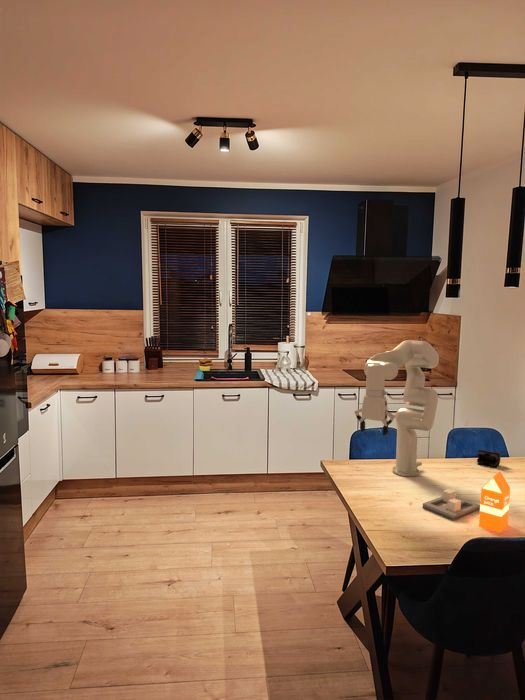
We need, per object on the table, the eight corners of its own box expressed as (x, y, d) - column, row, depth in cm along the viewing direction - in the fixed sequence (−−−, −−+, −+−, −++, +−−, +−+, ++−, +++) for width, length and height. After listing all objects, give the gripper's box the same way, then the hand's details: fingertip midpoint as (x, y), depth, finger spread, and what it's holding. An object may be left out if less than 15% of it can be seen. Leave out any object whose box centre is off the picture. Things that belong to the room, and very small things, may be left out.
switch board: (449, 498, 215) (449, 493, 215) (480, 509, 204) (480, 504, 204) (422, 508, 205) (422, 503, 205) (453, 520, 194) (453, 515, 193)
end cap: (500, 465, 258) (501, 452, 258) (497, 468, 253) (497, 455, 252) (479, 461, 264) (480, 448, 263) (475, 464, 259) (476, 451, 258)
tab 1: (448, 498, 212) (449, 488, 211) (455, 501, 209) (455, 491, 209) (442, 501, 209) (443, 490, 209) (449, 503, 207) (449, 493, 206)
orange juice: (508, 524, 191) (511, 473, 189) (500, 532, 184) (504, 479, 182) (486, 518, 196) (489, 468, 194) (478, 526, 189) (481, 474, 187)
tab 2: (453, 508, 202) (454, 498, 201) (460, 511, 199) (461, 500, 199) (447, 511, 200) (448, 500, 199) (454, 513, 197) (454, 503, 197)
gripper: (398, 393, 212) (396, 434, 214) (358, 389, 221) (357, 427, 223) (392, 397, 206) (390, 438, 208) (352, 392, 215) (351, 431, 217)
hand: (373, 432), depth 215 cm, fingers open, 9 cm apart
